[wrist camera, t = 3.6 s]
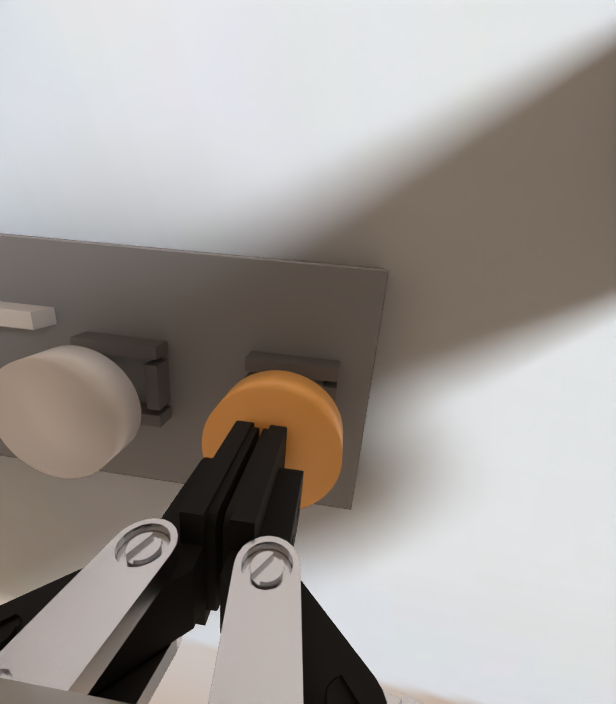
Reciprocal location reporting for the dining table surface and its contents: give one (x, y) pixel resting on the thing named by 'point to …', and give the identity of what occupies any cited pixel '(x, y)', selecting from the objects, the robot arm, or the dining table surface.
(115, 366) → the white rounded thick disc
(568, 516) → the dining table surface
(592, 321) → the dining table surface
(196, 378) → the panel
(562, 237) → the dining table surface
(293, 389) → the orange button
